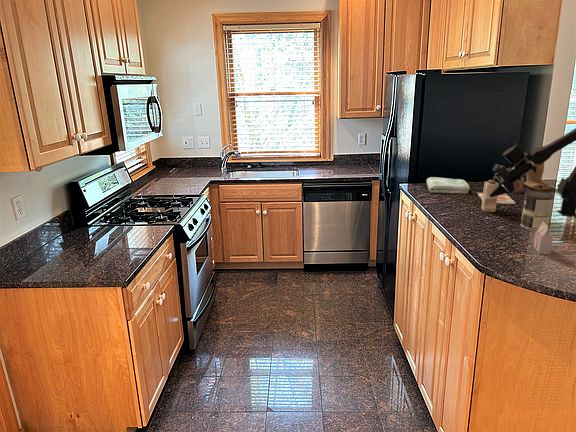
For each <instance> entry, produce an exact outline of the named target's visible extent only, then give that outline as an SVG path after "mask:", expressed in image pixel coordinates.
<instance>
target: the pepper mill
mask: <svg viewBox="0 0 576 432" xmlns="http://www.w3.org/2000/svg"><path fill="white" fill-rule="evenodd" d="M483 184H484V185H483V192H482V193H483V199H481V200H482V201H481V210H482V211H483V212H490V213H491V212H492V213H495V212H496V209H497V204H496V203H497V196H495V197H490V194H491V193H492V192H493V191H494V190H495V189H496V188H497V187H498V183H497V182H496V181H495V180H494V179H489V180H487V181H484V182H483Z"/></svg>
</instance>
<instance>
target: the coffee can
mask: <svg viewBox="0 0 576 432" xmlns="http://www.w3.org/2000/svg"><path fill="white" fill-rule="evenodd" d="M554 198H555V195H554V194H553V193H551V192H549V191H548V192H547V191H544V190H529V191H528V190H527V191H525V193H524V201H523V208H522V214H521V221H520V227H522V228H523V227H524V229H527V230H529V229H530V231H536V230H537V229H538V228H539V227H540V225H541V223H542V222H544V223H545V224H546V225H547V226H548V227H549V224H550V218H551V214H552V207H553V203H554Z"/></svg>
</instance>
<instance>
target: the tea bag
mask: <svg viewBox="0 0 576 432" xmlns="http://www.w3.org/2000/svg"><path fill="white" fill-rule="evenodd" d="M553 240H554V239H553V236H552V234H551V231H550V227H549V225H548V226H547V225H546V224H545V223H544V222H542V223H541V225H540V227H539V228H538V229H537V231H536V230H535V233H534V240H533V243H532V244H533V246H532V248H533V247H534V248H535V249H536V250H537V251H538V253H548V254H550V255H551V252H552V246H553ZM534 248H533V249H534ZM535 249H534V250H535ZM536 250H535V251H536ZM537 251H536V252H537ZM538 253H537V254H538Z"/></svg>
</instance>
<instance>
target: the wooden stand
mask: <svg viewBox="0 0 576 432" xmlns="http://www.w3.org/2000/svg"><path fill="white" fill-rule="evenodd" d="M530 162H531V164H532V165H533V166H537V168H536V173H535V172H533V171H532V170H530V171H529V172H528V173H526V174H525V176H526V180H525V181H524V183H523V184H524V185H526V187H529V188H530V189H533V190H535V191H545V190H546V191H547V190H550V189H551V188H552V187H551V186H550V185H549V184H547V183H545V182H543V181H542V178H543V174H544V171H545V162H544V163H542V164H535V163H533V162H532V161H530Z"/></svg>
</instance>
